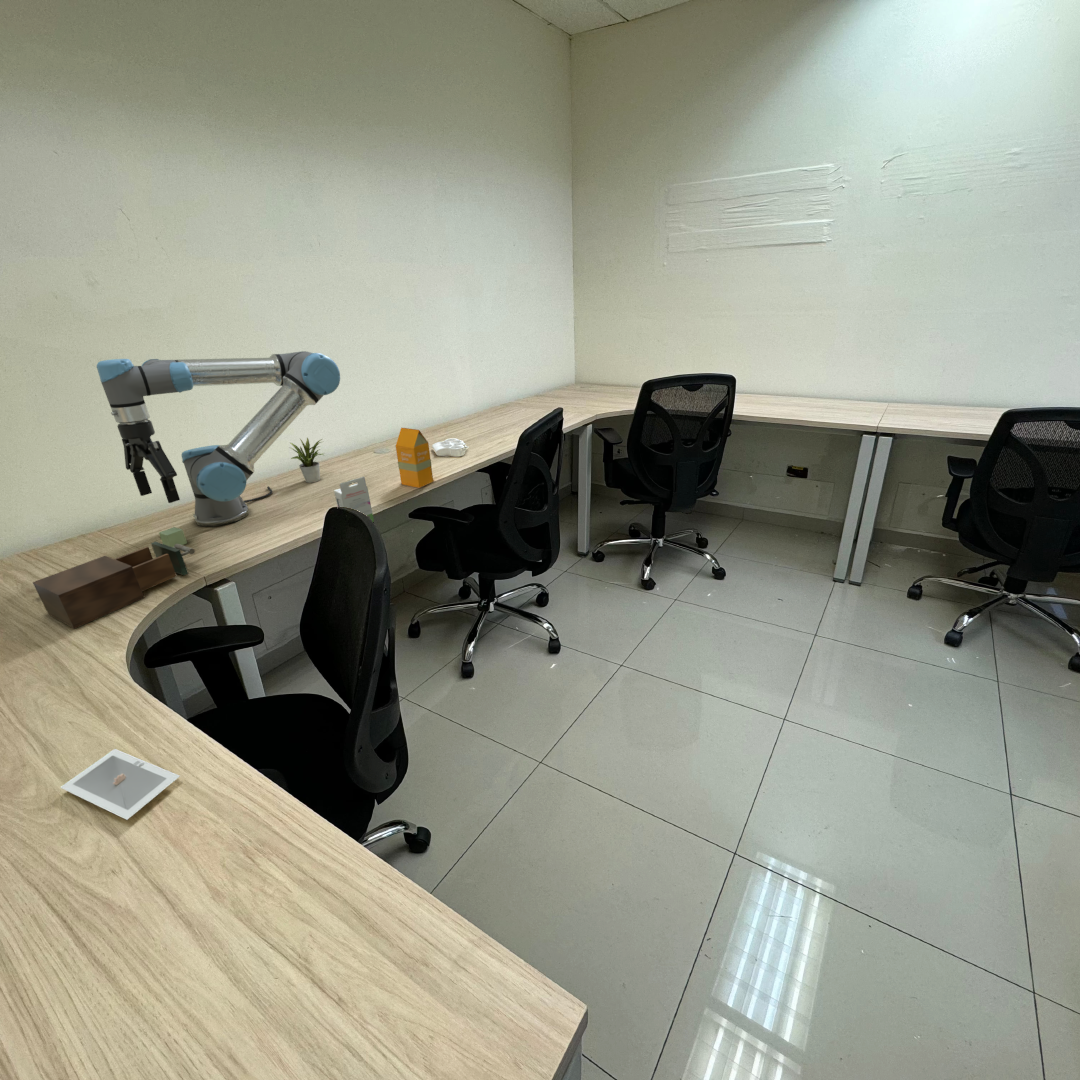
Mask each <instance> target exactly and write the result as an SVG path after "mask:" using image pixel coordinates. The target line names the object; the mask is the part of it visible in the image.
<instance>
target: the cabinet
mask: <svg viewBox="0 0 1080 1080" xmlns="http://www.w3.org/2000/svg"><path fill="white" fill-rule="evenodd" d="M32 584H33V587H34V588H35V590H36V593H37V595H38V596H39V599H40V600H41V602H42V605H43V606H44V609H45V610H46V612H47V615H48V616H50V617H52V618H54V619H56V620H57V621H59V622H61V623H63V624H64V625H66V626H67V627H71V628H72V629H74V630H75V629H77V628H79V627H82V626H84V625H86V624H88V623H91V622H93V621H95V620H97V619H100V618H102V617H104V616H107V615H109V614H112V613H114V612H115V611H118V610H120V609H123V608H124V607H126V606H129V605H131V604H134V603H136V602H138V601H141V600H142V599H145V596H144V593H143V591H142V590H141V588H140V585H139V583H138V580H137V578H136V575H135V573H134V570H133V568H132V566H130V565H128V564H125V563H122V562H120V561H117V560H115V558H112V557H110V556H107V555H103V556H100V557H97V558H95V559H92V560H89V561H86V562H83V563H81V564H78V565H76V566H73V567H70V568H67V569H64V570H62V571H59V572H57V573H54V574H52V575H48V576H46V577H43V578H41V579H37V580H35V581H33V582H32Z"/></svg>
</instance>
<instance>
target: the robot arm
mask: <svg viewBox="0 0 1080 1080" xmlns="http://www.w3.org/2000/svg"><path fill="white" fill-rule="evenodd" d="M96 369H97V373H98V376H99V379H100V380H99V381H100V384H101V386H102V388H103V391H104V393H105V396H106V398H107V401H108V405H109V406H110V410H111V412H110V414H111V416H113V418H114V420H115V421H114V422H115V423H117V425H116V426H117V429H118V432H119V435H120V437H121V442H122V445H123V453H124V464H125V469H126V470H127V471H130V473H132V475H133V478H134V481H135V485H136V487H137V489H138V492H139V495H140V496H141V497H144V496H146V495H151V494H153V491H152V488H151V486H150V483H149V479H148V477H147V474H146V472H145V468H144V466H143V464H144V460H146V461H148V462H149V463H150V464H151V466H152V467H153V468H154V470H155V471H156V472H157V474H158V475H159V476H160V478H159V481H160V482H161V485H162V488H163V491H164V495H165V497H166V500H167V502H168V503H169V504H173V503H175V502H177V501H180V496H179V492H178V489H177V486H176V483H175V480H174V477H177V476H178V474H177V471H176V469H175V468H174V466H173V465H172V463H171V461H170V459H169V458H168V456H167V455H166V453H165V451H164V449H163V447H162V445H161V443H160V441H159V440H155V441H153V440H152V438H151V437H152V436H154V435H155V433H156V431H155V429H154V425H153V422H152V420H150V418H151V415H150V412H149V409H148V407H147V404H146V401H145V399H144V397H150V396H155V395H156V396H157V395H164V394H174V393H180V394H181V393H183V392H188V391H191V390H193V389H194V387H208V386H209V387H210V386H211V387H212V386H228V385H229V386H234V385H255V384H274V385H276V386H277V387H280V388H279V389H278V390H277V391H276V392H275V393H274V394H273V395H272V397H270V398H269V400H268V401H267V402H266V403H265V404H264V405H263V406H262V407H261V408H260V409H259V410H258V411H257V412H256V413H255V415H254V416H252V418H251V419H250V420H249V421H248V422H247V423H246V425H244V426H243V427H242V429H241V430H240V431H238V432H237V434H236V435H235V436H234V437H233V438H232V439H231V441H229V443H227V444H213V445H212V444H211V445H205V446H199V447H195V448H189V449H186V450H184V451H182V452H181V459H182V460H181V461H182V462H181V463H183V465H184V469H185V472H186V475H187V478H188V481H189V484H190V487H191V490H192V494H193V496H194V499H195V500H194V513H193V514H192V515H193V518H194V521H195V524H196V525H198V526H201V527H219V526H225V525H229V524H233V523H235V522H238V521H240V520H243V519H245V518H246V517H247V516H248V515H249V514H250V510H249V507H248V505H247V504H246V503H251V502H255V501H259V500H261V499H262V500H263V499H264V498H267V497H270V496H271V495H272V494H273V490H272V489H271V488H270V486H267V490H268V491H269V492H268V493H266V494H264V495H261V496H257V497H254V498H250V499H245V500H243V498H242V494H243V493H244V492H245V489H246V487H247V483H248V482H247V481H248V480H249V479H250V478H251V476H252V475H253V474H254V473H255V464H256V462H257V461H258V460H259V459H260V458H262V456H263V455H264V454H265V453H266V452H267V450H269V448H270V447H271V446H272V445H273V444H274V443H275V441H277V440H278V438H279V437H280V436H281V435H282V434H283V433H284V432H285V431H286V430H287V428H288V427H289V426H290V425H291V424H292V423H293V422H294V421H295V420H296V419H297V417H299V415H300V414H301V413H302V412H303V411H304V410H305V409H306V408H307V407H308V406H315V405H317V403H318V402H320V400H321V399H322V398H323V397H324V396H328V395H330V394H332V393H334V392H335V391H336V390H337V389H338V387H339V385H340V382H341V372H340V369H339V367H338V365H337V363H336V362H335V361H334V360H333V359H332V358H331V357H329V356H327V355H325V354H324V353H321V352H311V351H307V350H306V351H303V350H301V351H294V352H288V353H287V352H286V353H272V354H270V356H269V357H245V358H244V357H238V358H237V357H236V358H234V357H233V358H231V357H230V358H192V359H191V358H190V359H188V358H187V359H186V358H185V359H184V358H183V359H159V358H149V359H147V360H145V361H144V362H143V363H142V364H141V365H134V364H133V362H132V360H131V359H129V358H114V359H113V358H112V359H104V360H99V361H98V362H97V364H96Z"/></svg>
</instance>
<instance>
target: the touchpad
mask: <svg viewBox="0 0 1080 1080" xmlns="http://www.w3.org/2000/svg"><path fill="white" fill-rule="evenodd" d="M180 777H181V775H179V774H177V773H174V772H172V771H170V770H168V769H165V768H163V767H160V766H158V765H156V764H153V763H151V762H148V761H146V760H143V759H141V758H138V757H136V756H133V755H131V754H129V753H127V752H124V751H123V750H120V749H117V748H113V749H112V750H110V751H109V752H108V753H107V754H104V755H103V756H102V757H100V758H99V759H98V760H96V761H95V762H93V763H92V764H91V765H89V766H88V767H86V768H85V769H84V770H83V771H81V772H79V773H78V774H77V775H75V776H74V777H72V778H71V779H70V780H68V781H67V782H65V783H64V784H63V785H61V786H60V787H59V788H60V789H62V790H64V791H66V792H68V793H70V794H72V795H74V796H76V797H79V798H81V800H84V801H87V802H88V803H91V804H93V805H95V806H97V807H98V808H100V809H103V810H104V811H105V810H106V811H108V812H110V813H112V814H113V815H116V816H118V817H120V818H122V819H124V820H126V821H128V820H129V819H131V817H133V816H134V815H135V814H136V813H138V812H139V811H140V810H142V808H143V807H145V806H146V805H147V804H149V803H150V802H151V801H152V800H153V799H155V798H156V797H157V796H159V794H161V793H162V792H163V791H164V790H165V789H167V788H168V787H169V786H170V785H171V784H172V783H174V782H175V781H177V780H178V779H179V778H180Z"/></svg>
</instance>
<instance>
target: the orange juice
mask: <svg viewBox="0 0 1080 1080" xmlns="http://www.w3.org/2000/svg"><path fill="white" fill-rule="evenodd" d="M395 443H396V444H395V450H396V458H397V465H398V470H399V471H398V472H399V475H400V476H399V477H400V484H401V485H402V486H408V487H413V488H418V489H421V488H422V487H424V486H426V485H429V484H431V483H433V482H434V475H433V468H432V459H431V453H430V444H429V441H428V440H427V438H426V437H425V436H424V434H423V433H422V432H421V430H420V429H416V428H409V427H408V428H407V427H401V428H400V431H399V433H398V437H397V440H396V442H395Z"/></svg>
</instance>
